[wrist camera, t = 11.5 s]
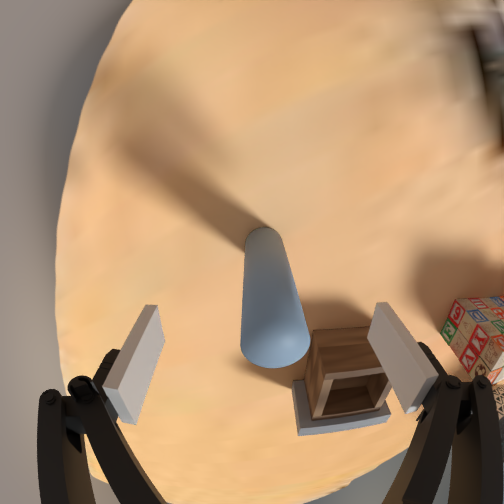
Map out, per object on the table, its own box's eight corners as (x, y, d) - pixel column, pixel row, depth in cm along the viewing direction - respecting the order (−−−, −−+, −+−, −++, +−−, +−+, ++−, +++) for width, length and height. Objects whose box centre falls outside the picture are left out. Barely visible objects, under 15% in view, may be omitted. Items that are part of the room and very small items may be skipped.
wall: (293, 380, 34) (300, 428, 27) (373, 372, 34) (391, 414, 27) (291, 389, 35) (298, 436, 27) (369, 381, 35) (385, 422, 27)
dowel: (245, 227, 26) (239, 317, 13) (283, 227, 26) (314, 316, 13) (245, 262, 27) (240, 368, 14) (281, 262, 27) (305, 366, 14)
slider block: (313, 330, 31) (325, 373, 24) (381, 325, 31) (403, 362, 24) (303, 380, 34) (311, 420, 28) (364, 373, 34) (378, 410, 28)
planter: (508, 356, 37) (550, 415, 17) (506, 384, 43) (536, 432, 23) (447, 409, 42) (479, 477, 22) (455, 427, 48) (479, 480, 28)
